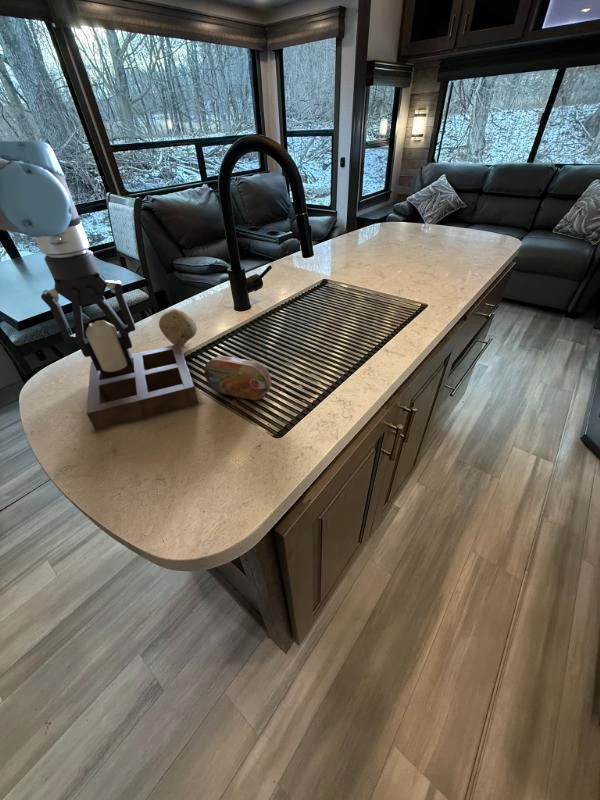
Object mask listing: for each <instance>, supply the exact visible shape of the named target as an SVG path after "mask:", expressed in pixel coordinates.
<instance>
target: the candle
mask: <svg viewBox="0 0 600 800" xmlns="http://www.w3.org/2000/svg"><path fill="white" fill-rule="evenodd" d="M84 335H85V337H86V338H88V341H89V343H90V345H91V347H92V349H93V352H94V354H95V356H96V358H97V360H98V362H99V365H100V367H101V369H102V370H103V371H106V372H113V371H118V370H121V369H123V368H124V367H126V366H127V365H128V362H127V359H126V356H125V354H124V351H123V349H122V346H121V344H120V341H119V339H118V330H117V329H116V327H115V326H114V325H113V323H110V322H108V321H106V320H105V319H102V320H96V321H94V322H90V323H89V324H88V326H87V328H86V330H85V331H84Z"/></svg>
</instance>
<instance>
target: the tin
mask: <svg viewBox="0 0 600 800" xmlns="http://www.w3.org/2000/svg"><path fill="white" fill-rule="evenodd" d="M203 372H204V374H203V375H204V377H205V380H206V381H207V383H208V384H209V386H210V387H211V388H212V389H213V390H215V391H216V392H218V393H220V394H223V395H229V396H232V397H237V398H242V399H246V400H250V401H259V400H261V399H264V398H265V397H266V395H267V394H268V392H269V391H270V389H271V387H272V378H271V375H270V372H269V370H268V369H267V368H266V367H265V366H264V365H263V364H262V363H261V362H258V361H255V360H249V359H244V358H239V357H232V356H228V355H226V356H225V355H218V356H215V357H213V358H212V359H210V360H209V361H207V362H206V364H205V366H204V368H203Z"/></svg>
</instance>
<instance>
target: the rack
mask: <svg viewBox="0 0 600 800" xmlns="http://www.w3.org/2000/svg"><path fill="white" fill-rule="evenodd" d="M130 355H131V357H132V364H128V365H127V366H126V367H124V368H123V369H121V370H118V371H113V372H106V371H103V370H102V369H101V371H97V370H96V368H95V366H94V364H93V361H91V362H90V367H89V378H88V391H87V403H86V416H87V418H88V419H89V421H90V424H91V425H92V427H93V429H94V430H95V432H98V431H101V430H105V429H109V428H113V427H117V426H120V425H123V424H128V423H132V422H136V421H138V420H139V421H140V420H142V419H146V418H150V417H154V416H157V415H161V414H165V413H169V412H173V411H176V410H180V409H184V408H187V407H191V406H194V405H195V406H196V405H199V403H200V402H199V399H198V394H197V391H196V388H195V384H194V381H193V379H192V376H191V373H190V370H189V367H188V363H187V360H186V358H185V355H184V352H183V350H182V346H180V344H177V345H174V344H172V345H167V346H163V347H157V348H153V349H149V350H144V351H139V352H135V353H134V352H133V353H130Z"/></svg>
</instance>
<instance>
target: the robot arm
mask: <svg viewBox="0 0 600 800" xmlns="http://www.w3.org/2000/svg"><path fill="white" fill-rule="evenodd" d="M0 231H6V232H7V231H8V232H13V233H17V234H22V235H27V236H30V237H34V241H35V242H36V244H37V246H38V249H39V251H40V252H41V254H42V255H43V254H44V255H45V256H44V262H45V264H46V266H47V268H48V270H49V272H50V274H51V277H52V278H53V281H54V286H53V288H50V289H49V290H48V289H44V290H43V291H42V293H41V295H40V298H41V300H42V301H43V302H44V303H45V304H46V305H47V306H48V308H49V309H50V311H51V314H52V316H53V317H54V320H55V322H56V325H57V327H58V330H59V331H60V333H61V336H62V338H63V340H64V342H65V343H66V344H71V343H75V344H77V345H78V347H79V349H80V351H81V353H82V355H83V357H85V358H88V357H90V360H91V362H93V364H94V366H95V368H96V370H97V371H101V367H100V365H99V362H98V360H97V358H96V356H95V354H94V352H93V349H92V347H91V345H90V343H89V341H88V338H87V337H86V338H85V331H84V330H85V329H84V320H83V311H82V307H85V306H87V305H97V307H98V308H99V309H101V311H102V312H103V313H104V315H105V316H106V317H107V319H108V320H109V322H111V324H112V325H114V326H115V328H116V331H117V333H118V339H119V341H120V344H121V346H122V349H123V351H124V354H125V356H126V359H127V362H128V364H132V357H131V355H130V354H131V352H130V349H132V348H133V342H132V339H131V337H130V333H131V332H135V331H136V324H135V321H134V318H133V316H132V313H131V311H130V309H129V306H128V303H127V301H126V297H125V296H124V294H123V283H122V281H121V280H120V279H117V280H115V281H114V280H107V279H106V278H105V277H104V276H103V275H102V273H101V271H100V269H99V266H98V263H97V259H96V257H95V256H94V252H93V251H91V250H90V249H89V248H90V246H91V245H90V242H89V239H88V237H87V234H86V231H85V228H84V226H83V223H82V221H81V219H80V216H79V214H78V211H77V207H76V205H75V202H74V200H73V197H72V195H71V191H70V189H69V187H68V183H67V180H66V175H65V174H64V172H63V170H62V168H61V165H60V163H59V160H58V158H57V157H56V154H55V152H54V150H53V148H52V147H51V146H50V145H49V143H47V142H45V141H42V140H10V141H9V140H8V141H7V140H3V141H2V140H1V141H0ZM106 288H108V289H109V290H110V293H112V294H114V296H115V299H116V302H117V304H118V306H119V309H120V311H121V313H122V316H123V318H124V321H125V322H126V324H124V322H123V321H122V319H121V318H120V317H119V316H118V315H117V313H116V312H115V310H114V309H113V308H112V306H111V305H110V304H109V302H108V301H107V299H106V298H105V296H104V294H105V291H106ZM59 295H60V296H61V297H63V298H64V299H66V300H68V301H69V302H71V309H72V312H73V313H72V315H73V323H74V332H75V333H73V332H72V330H71V327H70V325H69V323H68V320H67V318H66V315H65V313H64V310H63V309H62V306H61V304H60V302H59V300H60V297H59Z"/></svg>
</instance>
